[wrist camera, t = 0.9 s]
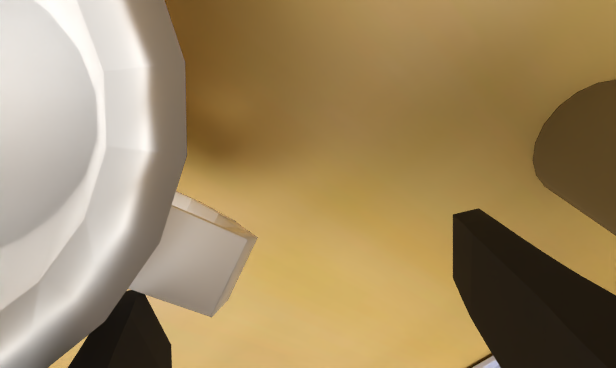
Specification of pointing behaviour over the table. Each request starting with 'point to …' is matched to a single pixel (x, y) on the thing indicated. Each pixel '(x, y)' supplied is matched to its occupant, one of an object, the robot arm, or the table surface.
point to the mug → (97, 176)
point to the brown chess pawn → (582, 153)
